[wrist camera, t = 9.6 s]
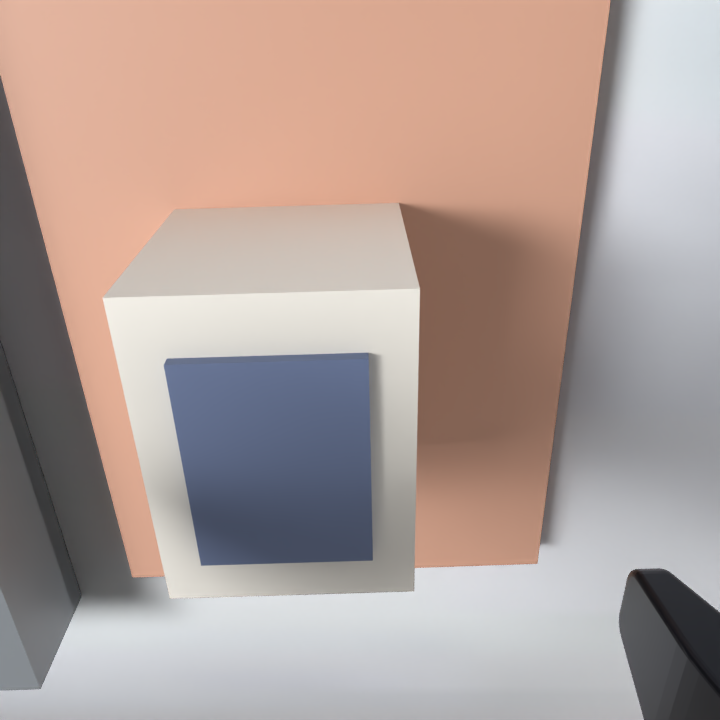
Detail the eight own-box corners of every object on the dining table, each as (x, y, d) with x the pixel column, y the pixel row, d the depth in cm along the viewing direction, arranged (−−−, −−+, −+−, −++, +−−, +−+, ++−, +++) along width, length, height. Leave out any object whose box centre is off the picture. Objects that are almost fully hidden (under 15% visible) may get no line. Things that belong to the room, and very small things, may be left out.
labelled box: (397, 447, 16) (415, 599, 12) (212, 453, 16) (167, 607, 12) (398, 202, 14) (421, 293, 9) (174, 209, 13) (98, 303, 9)
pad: (530, 542, 19) (537, 563, 18) (140, 555, 19) (132, 577, 18) (599, -31, 12) (615, -33, 12) (-2, -11, 12) (-23, -11, 12)
